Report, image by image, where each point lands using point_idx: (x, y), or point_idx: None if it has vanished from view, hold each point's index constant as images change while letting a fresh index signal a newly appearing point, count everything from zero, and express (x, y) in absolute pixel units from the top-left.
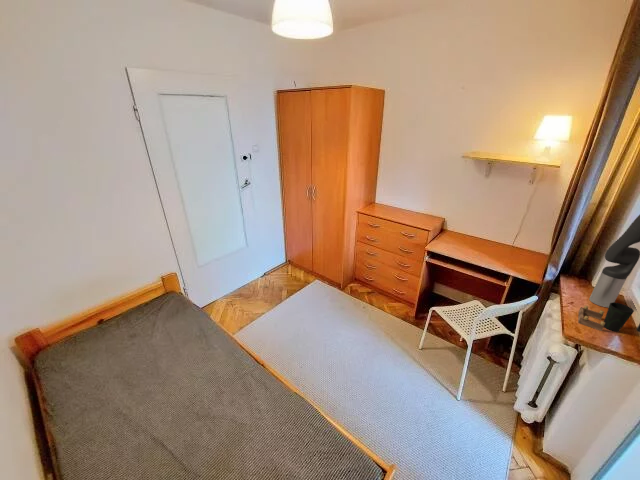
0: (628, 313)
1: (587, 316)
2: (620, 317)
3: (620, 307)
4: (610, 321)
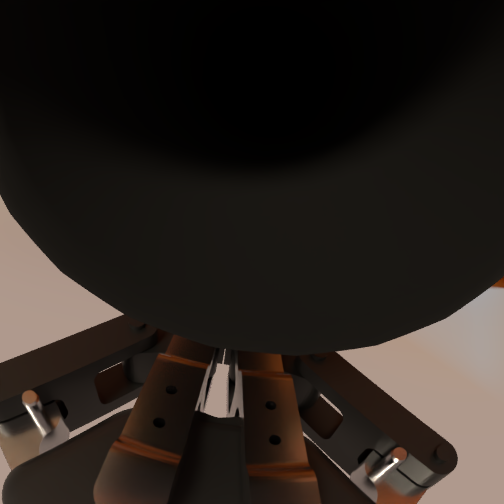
0: (18, 152)
1: None
2: (110, 55)
3: (484, 115)
4: (197, 17)
